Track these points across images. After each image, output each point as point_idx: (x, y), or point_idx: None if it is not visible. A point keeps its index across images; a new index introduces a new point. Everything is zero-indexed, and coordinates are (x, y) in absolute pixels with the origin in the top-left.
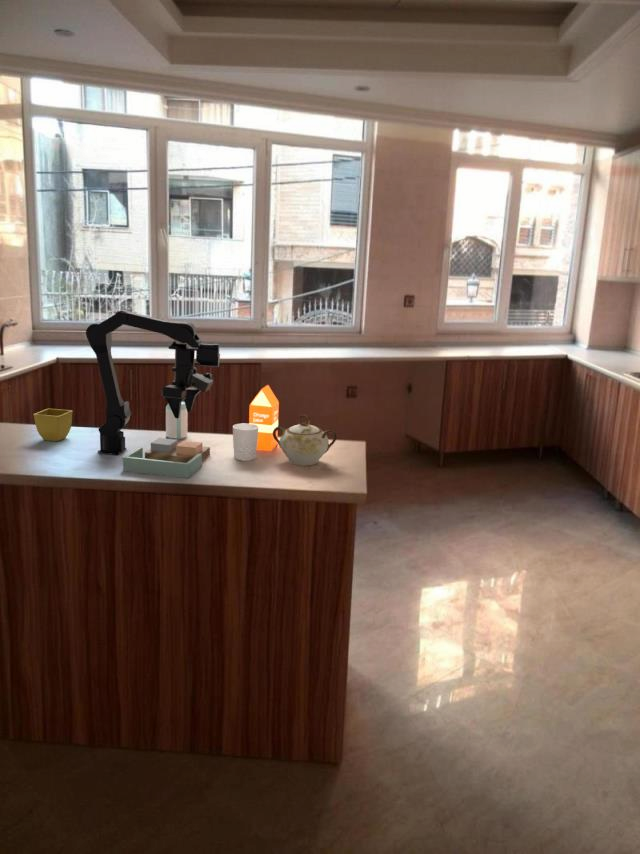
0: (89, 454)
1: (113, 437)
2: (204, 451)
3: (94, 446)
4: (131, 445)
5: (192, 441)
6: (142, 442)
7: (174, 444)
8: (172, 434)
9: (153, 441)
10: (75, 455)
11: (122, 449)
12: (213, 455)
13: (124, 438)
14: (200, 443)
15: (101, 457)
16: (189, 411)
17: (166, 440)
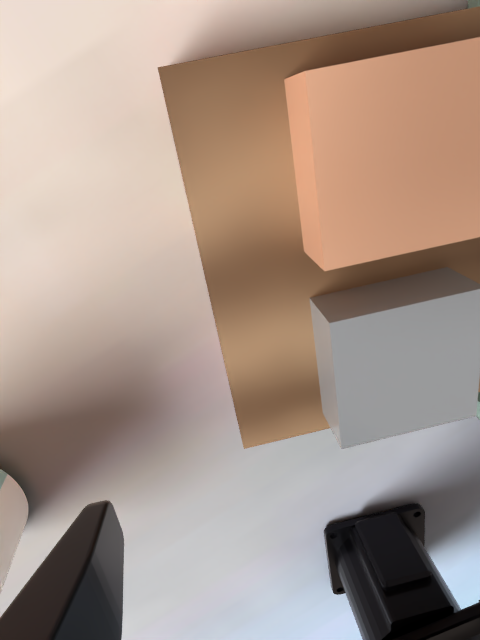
0: (441, 571)
1: (452, 599)
2: (307, 39)
3: (337, 622)
4: (250, 550)
5: (319, 185)
6: (177, 549)
7: (383, 300)
8: (16, 510)
9: (436, 424)
10: (468, 591)
11: (390, 519)
12: (154, 36)
13: (389, 574)
14: (350, 69)
15: (463, 522)
16: (112, 515)
17: (382, 375)
